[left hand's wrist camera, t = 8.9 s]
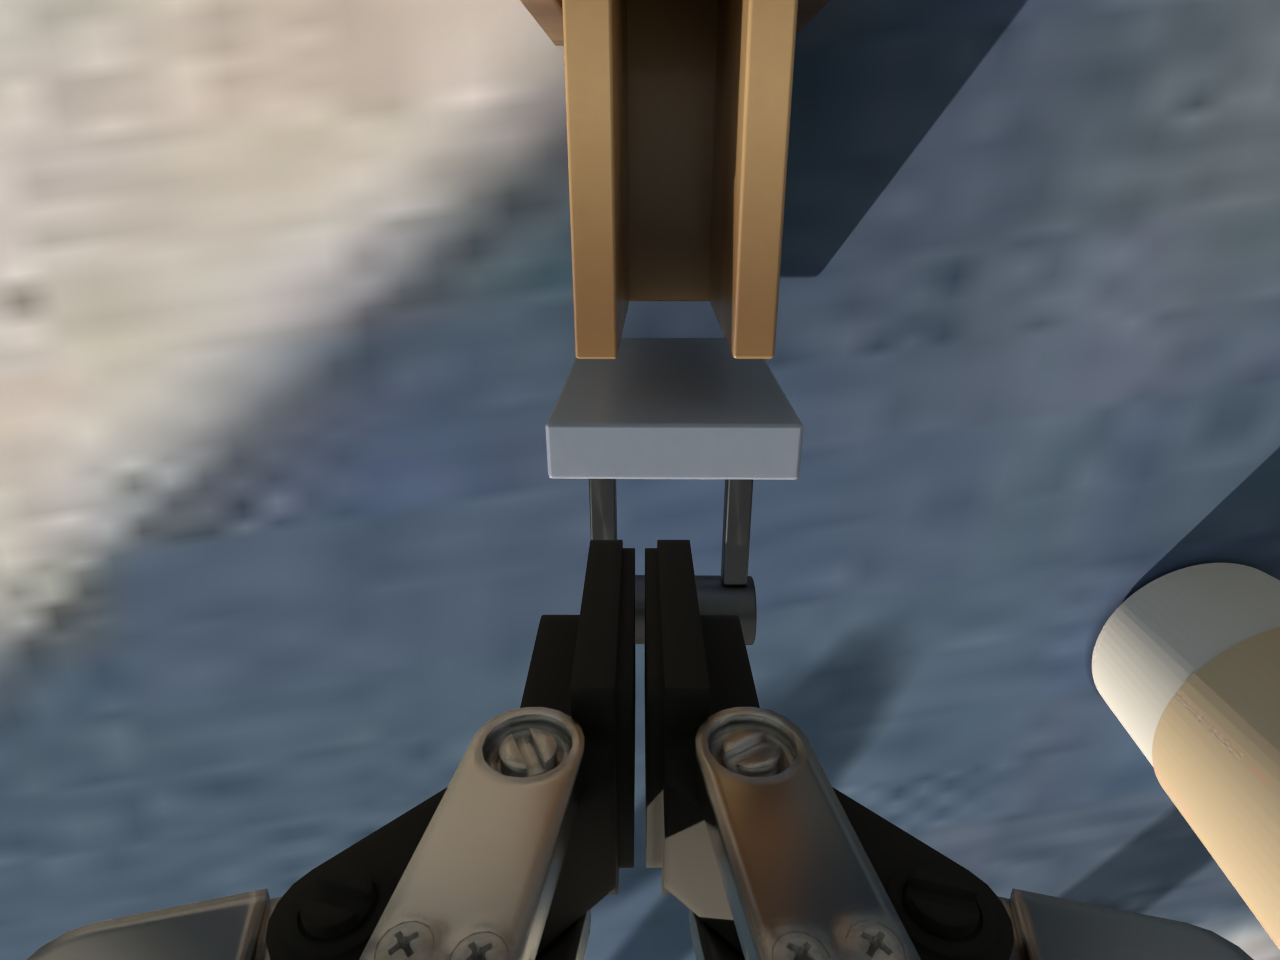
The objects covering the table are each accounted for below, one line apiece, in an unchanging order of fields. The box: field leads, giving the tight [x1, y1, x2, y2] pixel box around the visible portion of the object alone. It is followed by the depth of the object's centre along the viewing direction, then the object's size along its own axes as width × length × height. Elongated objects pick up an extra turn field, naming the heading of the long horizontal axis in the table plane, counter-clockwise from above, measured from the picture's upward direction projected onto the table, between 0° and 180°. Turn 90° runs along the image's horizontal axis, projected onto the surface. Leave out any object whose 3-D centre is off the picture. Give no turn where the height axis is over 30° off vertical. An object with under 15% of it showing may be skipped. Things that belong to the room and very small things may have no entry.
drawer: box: [546, 0, 803, 645], centre depth 16 cm, size 25×5×8 cm, turn 0°
